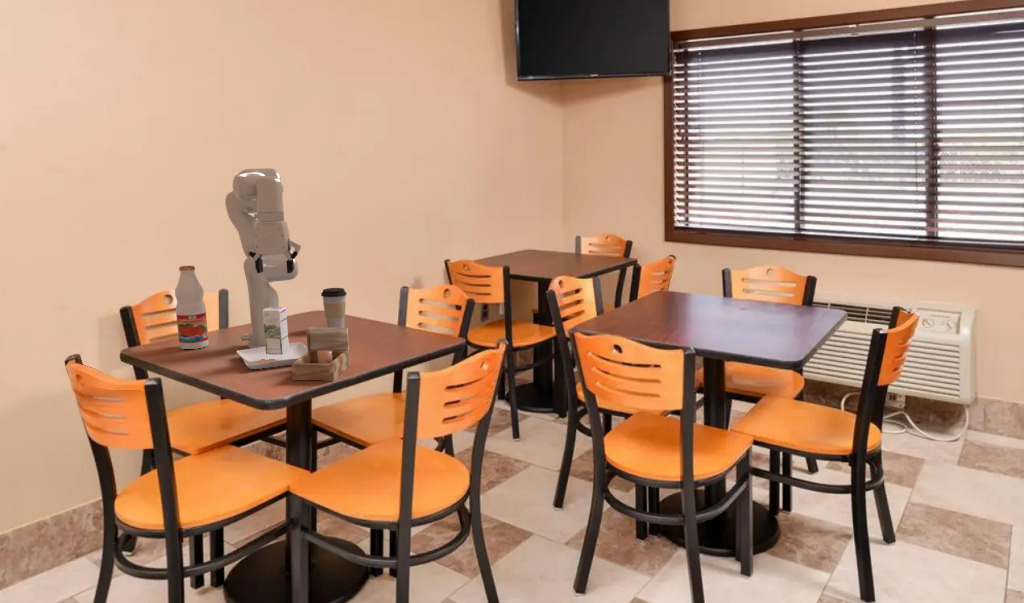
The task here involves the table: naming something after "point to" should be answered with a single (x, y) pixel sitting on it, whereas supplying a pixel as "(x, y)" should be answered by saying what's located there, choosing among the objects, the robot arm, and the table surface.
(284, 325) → the syrup box
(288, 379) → the table surface
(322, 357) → the tan rounded lump
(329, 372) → the wooden box
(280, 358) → the salad plate
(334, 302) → the coffee cup
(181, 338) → the fruit juice
